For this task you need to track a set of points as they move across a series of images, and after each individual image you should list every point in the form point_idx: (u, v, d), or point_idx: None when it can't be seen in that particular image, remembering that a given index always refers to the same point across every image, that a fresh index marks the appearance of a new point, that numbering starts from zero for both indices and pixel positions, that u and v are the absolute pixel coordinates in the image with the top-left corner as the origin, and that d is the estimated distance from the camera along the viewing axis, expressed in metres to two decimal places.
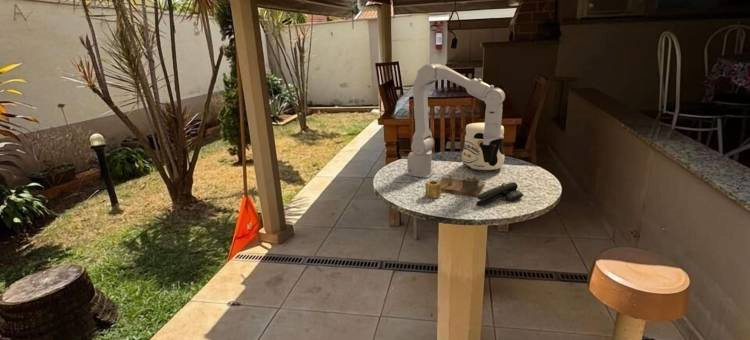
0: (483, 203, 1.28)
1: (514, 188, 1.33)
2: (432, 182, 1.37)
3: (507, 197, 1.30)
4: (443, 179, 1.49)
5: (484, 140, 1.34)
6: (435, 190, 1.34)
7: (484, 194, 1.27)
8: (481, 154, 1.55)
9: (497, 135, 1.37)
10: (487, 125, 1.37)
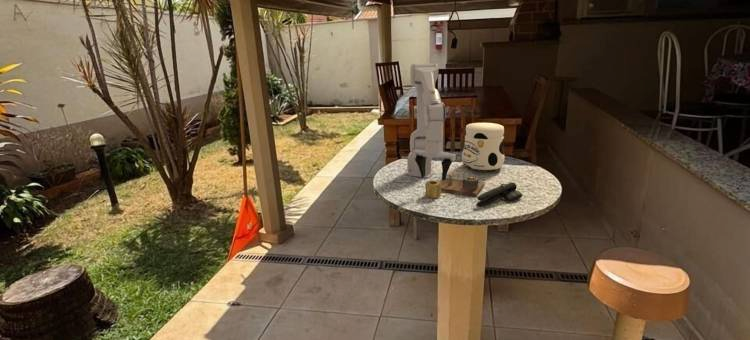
0: (483, 204, 1.27)
1: (513, 188, 1.33)
2: (432, 182, 1.37)
3: (507, 197, 1.30)
4: None
5: None
6: (435, 190, 1.34)
7: (484, 195, 1.27)
8: (481, 154, 1.55)
9: (427, 152, 1.30)
10: None
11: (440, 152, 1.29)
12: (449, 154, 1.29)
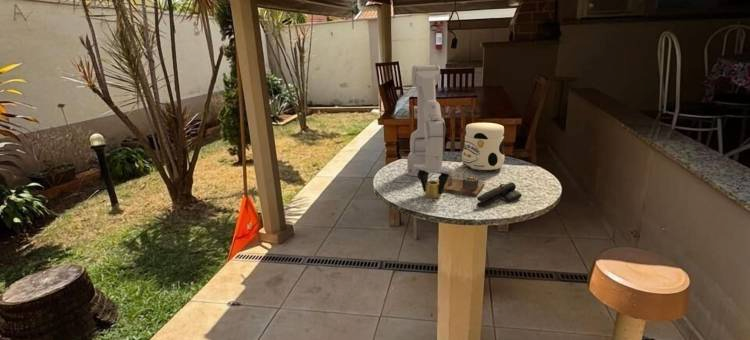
0: (483, 204, 1.27)
1: (512, 188, 1.32)
2: (432, 182, 1.37)
3: (506, 198, 1.30)
4: None
5: None
6: (435, 190, 1.34)
7: (484, 195, 1.26)
8: (481, 154, 1.55)
9: (426, 167, 1.32)
10: None
11: (440, 167, 1.31)
12: (448, 169, 1.31)
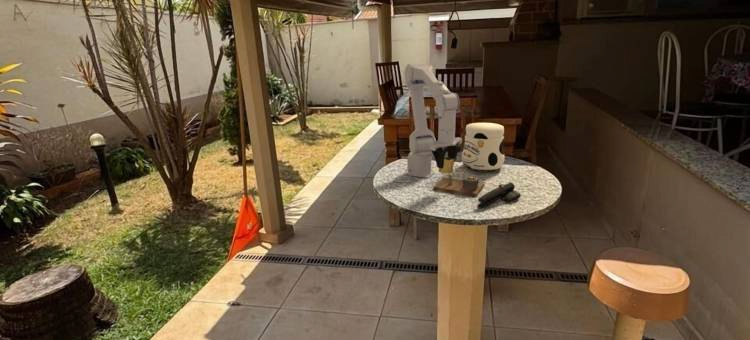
0: (484, 206, 1.26)
1: (511, 189, 1.32)
2: None
3: (506, 198, 1.29)
4: (443, 179, 1.49)
5: (430, 145, 1.32)
6: None
7: (485, 196, 1.25)
8: (481, 154, 1.55)
9: (448, 142, 1.33)
10: (439, 130, 1.34)
11: None
12: (456, 138, 1.39)
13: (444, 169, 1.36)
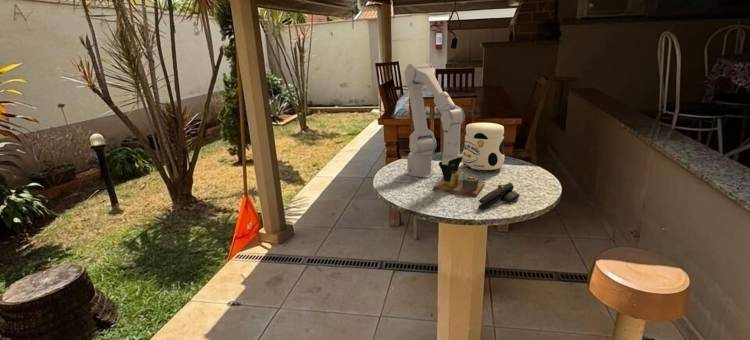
0: (485, 207, 1.25)
1: (511, 189, 1.32)
2: None
3: (506, 199, 1.29)
4: (443, 179, 1.49)
5: (443, 160, 1.34)
6: None
7: (486, 197, 1.25)
8: (481, 154, 1.55)
9: (456, 154, 1.37)
10: (446, 144, 1.37)
11: None
12: None
13: (452, 183, 1.40)
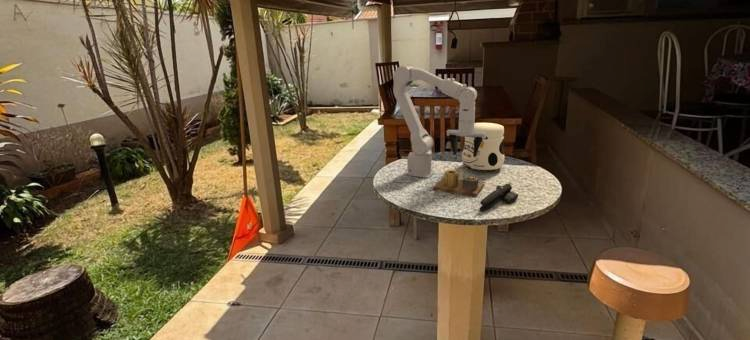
0: (486, 208, 1.24)
1: (509, 189, 1.32)
2: None
3: (506, 199, 1.28)
4: (443, 179, 1.49)
5: None
6: None
7: (487, 199, 1.23)
8: (481, 154, 1.55)
9: (460, 131, 1.44)
10: None
11: (472, 131, 1.44)
12: (480, 133, 1.43)
13: (452, 183, 1.40)
